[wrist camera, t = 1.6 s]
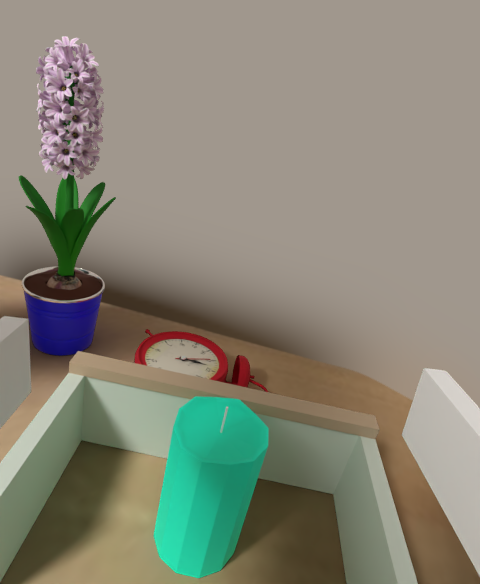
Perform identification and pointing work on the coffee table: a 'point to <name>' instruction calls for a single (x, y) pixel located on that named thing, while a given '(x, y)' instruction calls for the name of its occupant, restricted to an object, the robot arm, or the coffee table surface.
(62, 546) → the coffee table surface
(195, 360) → the alarm clock
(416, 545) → the coffee table surface
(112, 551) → the coffee table surface
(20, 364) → the robot arm
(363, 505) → the white u-shaped frame
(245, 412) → the candle
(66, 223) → the hyacinth
